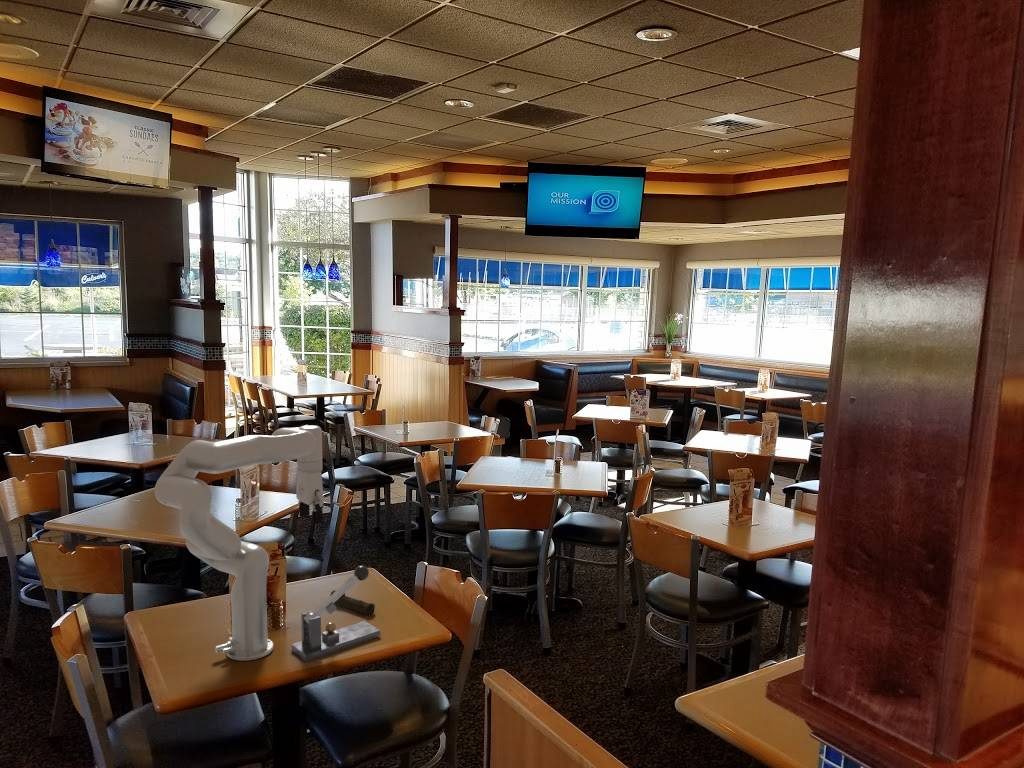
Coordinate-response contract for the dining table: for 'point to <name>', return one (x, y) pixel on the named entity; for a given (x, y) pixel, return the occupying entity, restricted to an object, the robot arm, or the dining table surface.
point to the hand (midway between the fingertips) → (310, 519)
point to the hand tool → (355, 604)
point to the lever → (338, 593)
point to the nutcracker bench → (325, 648)
